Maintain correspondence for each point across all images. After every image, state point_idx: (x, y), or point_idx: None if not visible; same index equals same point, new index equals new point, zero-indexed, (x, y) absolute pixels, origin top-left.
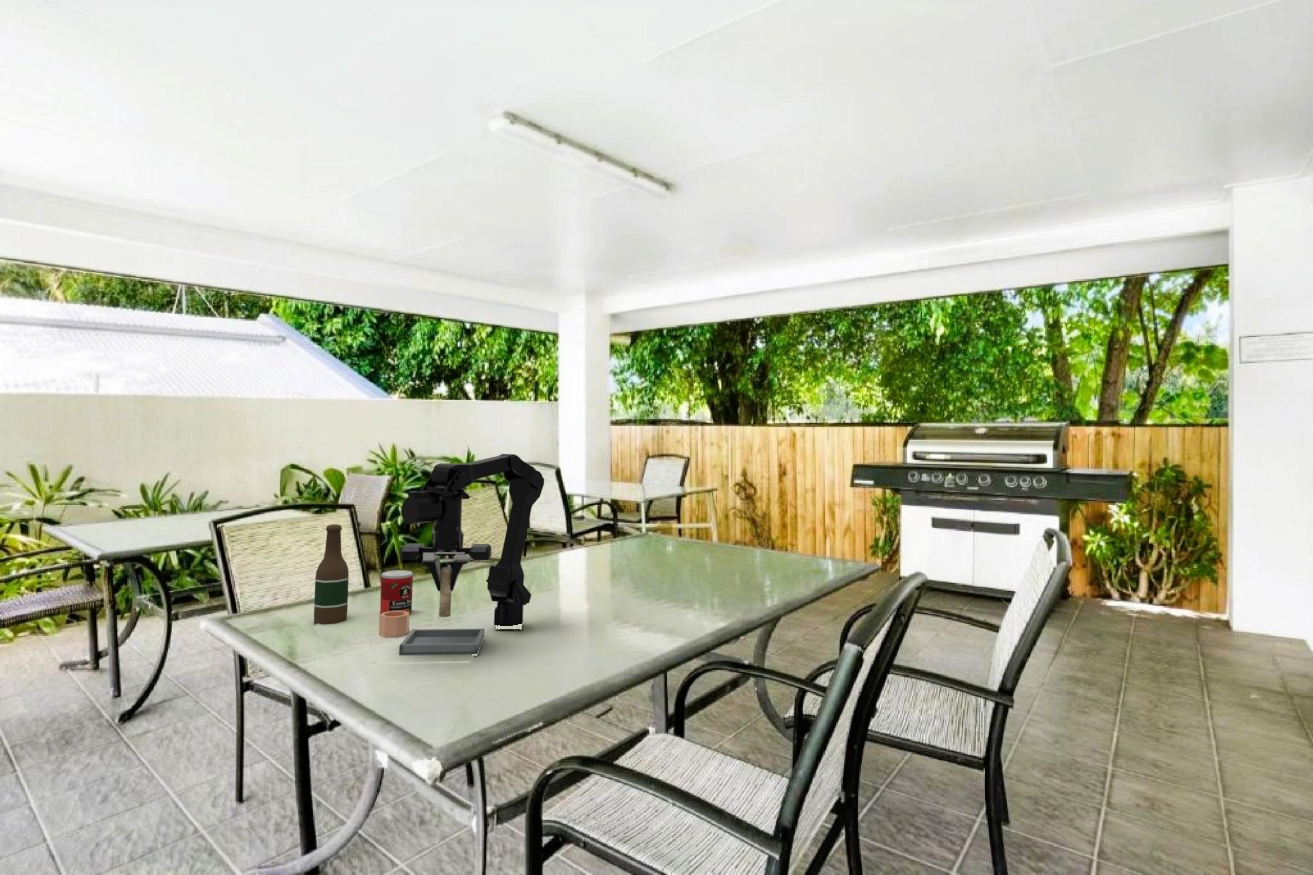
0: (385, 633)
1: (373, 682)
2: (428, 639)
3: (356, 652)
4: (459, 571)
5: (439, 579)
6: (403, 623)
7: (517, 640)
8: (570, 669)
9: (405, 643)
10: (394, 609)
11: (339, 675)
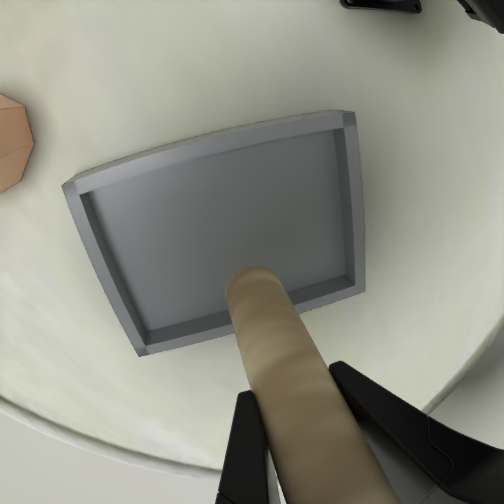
0: None
1: (188, 435)
2: (152, 205)
3: (16, 320)
4: (449, 443)
5: (274, 477)
6: (5, 167)
7: (426, 115)
8: (490, 289)
9: (139, 332)
10: None
11: (106, 425)
